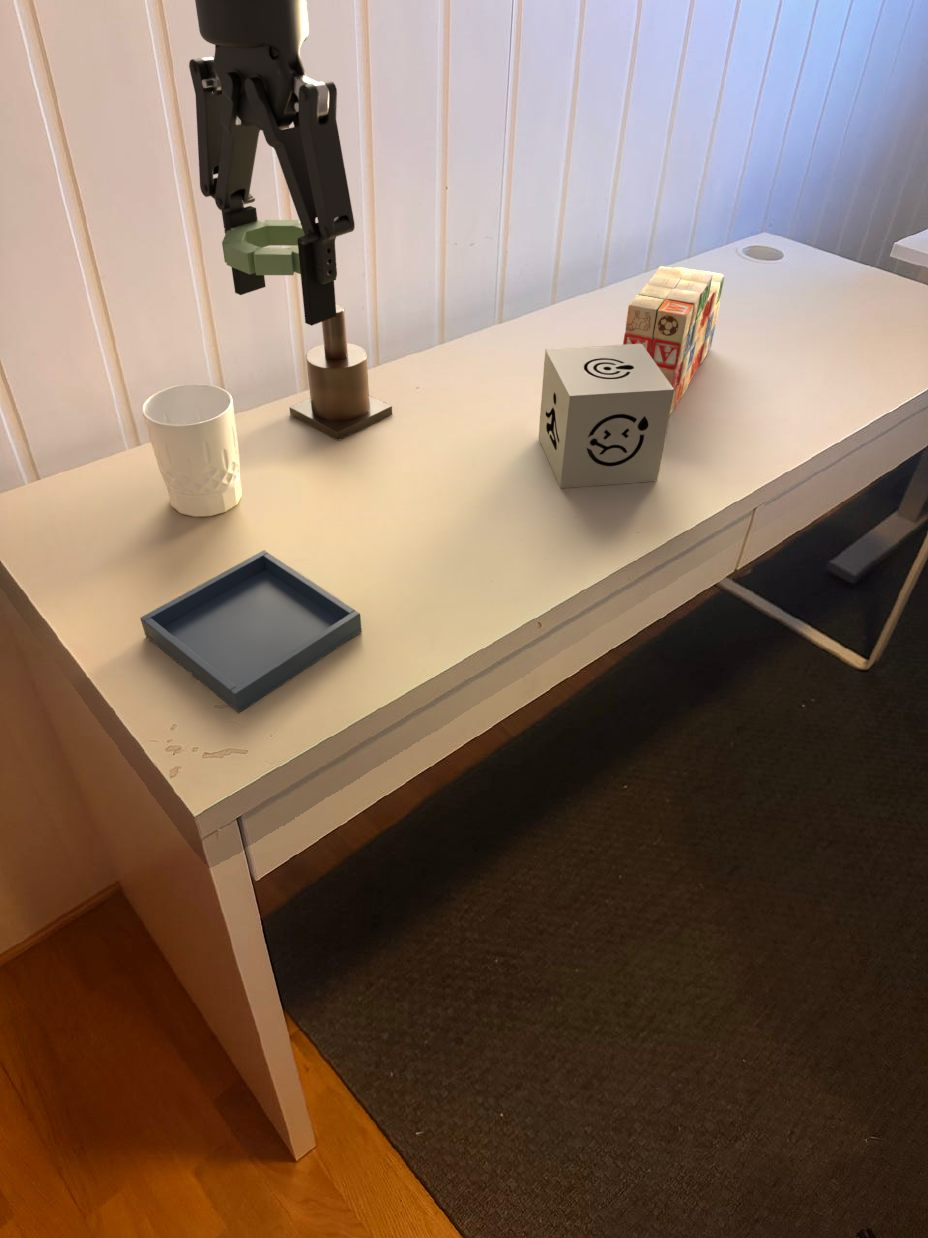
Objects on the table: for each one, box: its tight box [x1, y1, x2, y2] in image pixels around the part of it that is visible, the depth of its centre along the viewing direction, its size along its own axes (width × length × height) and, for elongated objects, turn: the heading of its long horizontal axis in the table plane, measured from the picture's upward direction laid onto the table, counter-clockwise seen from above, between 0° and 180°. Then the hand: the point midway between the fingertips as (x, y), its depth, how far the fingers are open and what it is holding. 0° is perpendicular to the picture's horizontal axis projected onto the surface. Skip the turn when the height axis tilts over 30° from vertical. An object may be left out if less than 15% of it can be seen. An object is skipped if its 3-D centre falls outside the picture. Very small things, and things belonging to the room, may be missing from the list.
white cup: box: [141, 383, 243, 518], centre depth 83 cm, size 8×8×10 cm
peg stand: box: [289, 304, 393, 441], centre depth 95 cm, size 8×8×12 cm
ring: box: [221, 219, 305, 276], centre depth 72 cm, size 8×8×2 cm
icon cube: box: [538, 344, 674, 489], centre depth 90 cm, size 10×10×10 cm
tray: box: [140, 549, 363, 714], centre depth 71 cm, size 12×12×2 cm
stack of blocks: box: [622, 265, 726, 417], centre depth 103 cm, size 21×6×12 cm, turn 155°
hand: (284, 303), depth 75 cm, fingers closed on ring, 8 cm apart
